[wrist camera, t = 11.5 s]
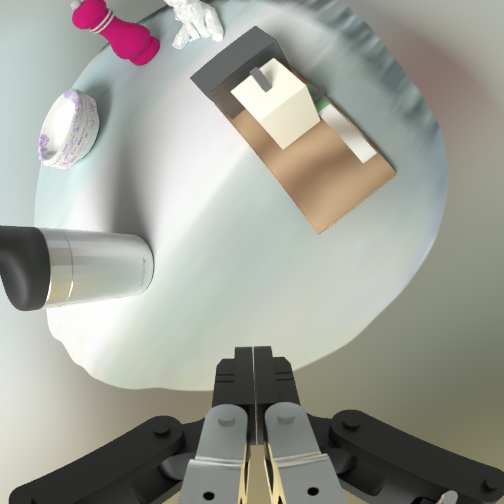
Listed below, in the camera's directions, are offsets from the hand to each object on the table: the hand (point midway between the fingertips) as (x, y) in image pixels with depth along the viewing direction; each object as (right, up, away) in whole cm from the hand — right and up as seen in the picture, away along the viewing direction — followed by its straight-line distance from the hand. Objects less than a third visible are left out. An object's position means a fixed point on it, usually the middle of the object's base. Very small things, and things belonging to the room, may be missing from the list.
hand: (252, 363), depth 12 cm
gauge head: (+5, +21, +20) cm, 29 cm away
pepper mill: (-20, +42, +31) cm, 56 cm away
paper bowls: (-33, +28, +36) cm, 56 cm away
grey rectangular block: (0, +26, +22) cm, 34 cm away
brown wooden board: (+6, +19, +21) cm, 29 cm away
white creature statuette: (-8, +42, +27) cm, 51 cm away
